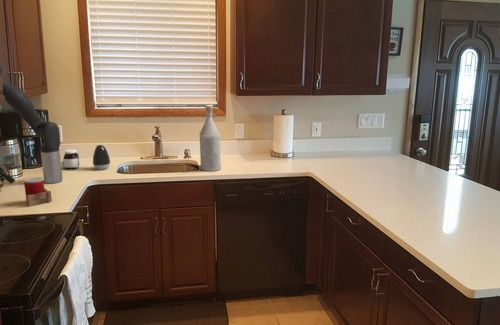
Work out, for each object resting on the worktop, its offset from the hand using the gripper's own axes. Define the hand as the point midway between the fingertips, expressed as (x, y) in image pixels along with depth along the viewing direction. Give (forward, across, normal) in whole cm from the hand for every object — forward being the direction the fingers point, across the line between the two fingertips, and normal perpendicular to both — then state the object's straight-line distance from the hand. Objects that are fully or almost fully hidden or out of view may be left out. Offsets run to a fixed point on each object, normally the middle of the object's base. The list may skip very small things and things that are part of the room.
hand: (13, 182), depth 194 cm
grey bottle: (+67, +43, -73) cm, 108 cm away
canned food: (+14, -4, -2) cm, 15 cm away
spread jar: (+11, +65, -8) cm, 67 cm away
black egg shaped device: (+24, +58, -23) cm, 67 cm away
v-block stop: (+16, -5, -4) cm, 17 cm away
